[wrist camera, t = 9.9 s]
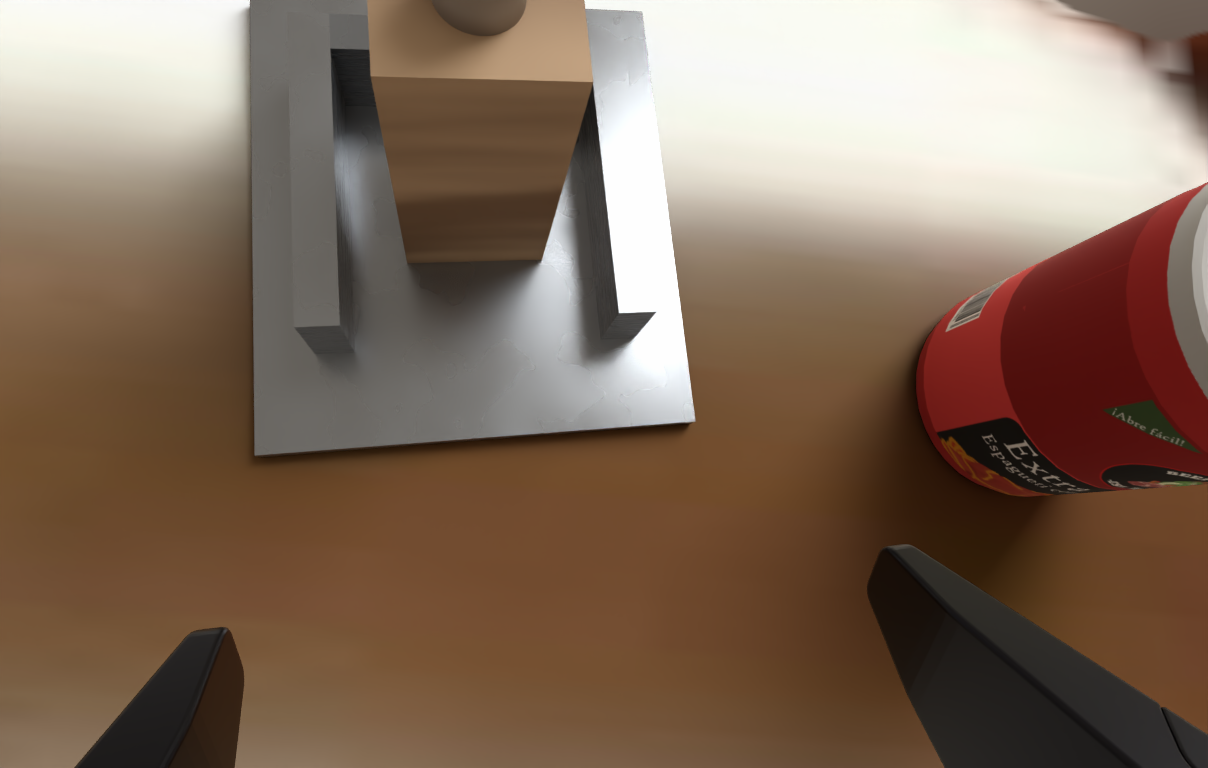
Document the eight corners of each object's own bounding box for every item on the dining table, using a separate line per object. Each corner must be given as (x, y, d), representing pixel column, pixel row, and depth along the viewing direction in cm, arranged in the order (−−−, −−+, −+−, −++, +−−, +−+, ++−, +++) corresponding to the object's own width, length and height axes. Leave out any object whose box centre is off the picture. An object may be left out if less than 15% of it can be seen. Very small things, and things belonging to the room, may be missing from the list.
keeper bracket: (690, 423, 25) (726, 405, 22) (259, 457, 22) (222, 442, 19) (638, 20, 28) (663, -51, 25) (253, 3, 25) (222, -79, 22)
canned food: (904, 482, 26) (1204, 444, 16) (911, 279, 28) (1183, 122, 18) (1086, 513, 27) (1479, 496, 17) (1081, 316, 29) (1431, 189, 19)
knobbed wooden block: (542, 259, 25) (618, -5, 13) (407, 263, 24) (352, -18, 12) (532, 153, 26) (595, -190, 14) (401, 152, 25) (344, -217, 13)
